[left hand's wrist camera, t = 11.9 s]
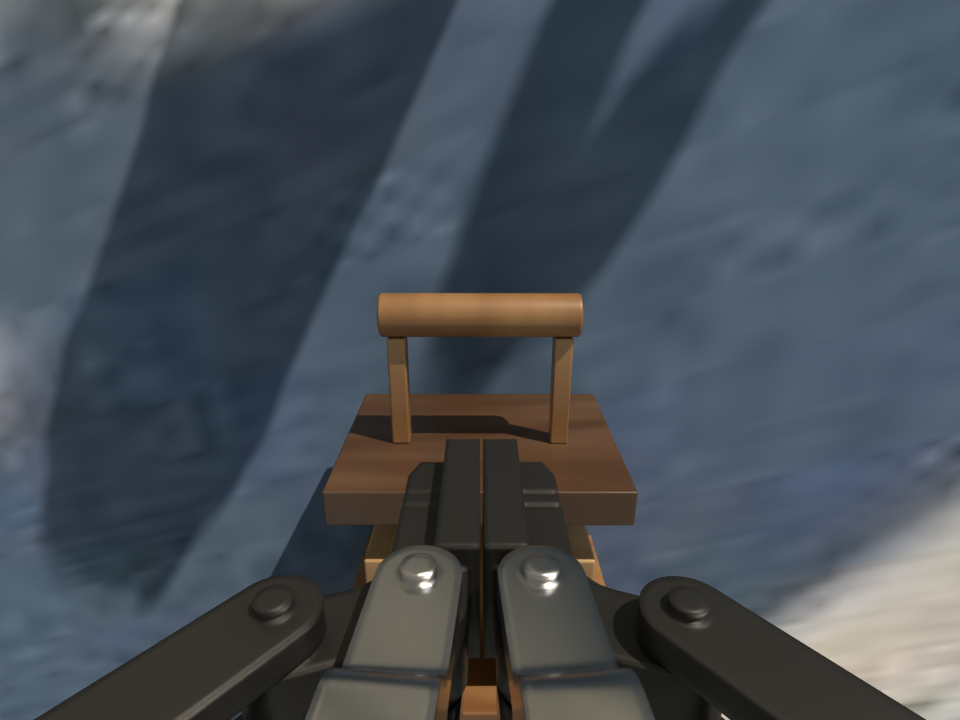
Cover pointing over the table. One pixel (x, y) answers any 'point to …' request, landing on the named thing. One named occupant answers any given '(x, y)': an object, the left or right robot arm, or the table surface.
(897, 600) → the table surface
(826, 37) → the table surface
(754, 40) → the table surface
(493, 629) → the left robot arm
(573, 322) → the drawer
